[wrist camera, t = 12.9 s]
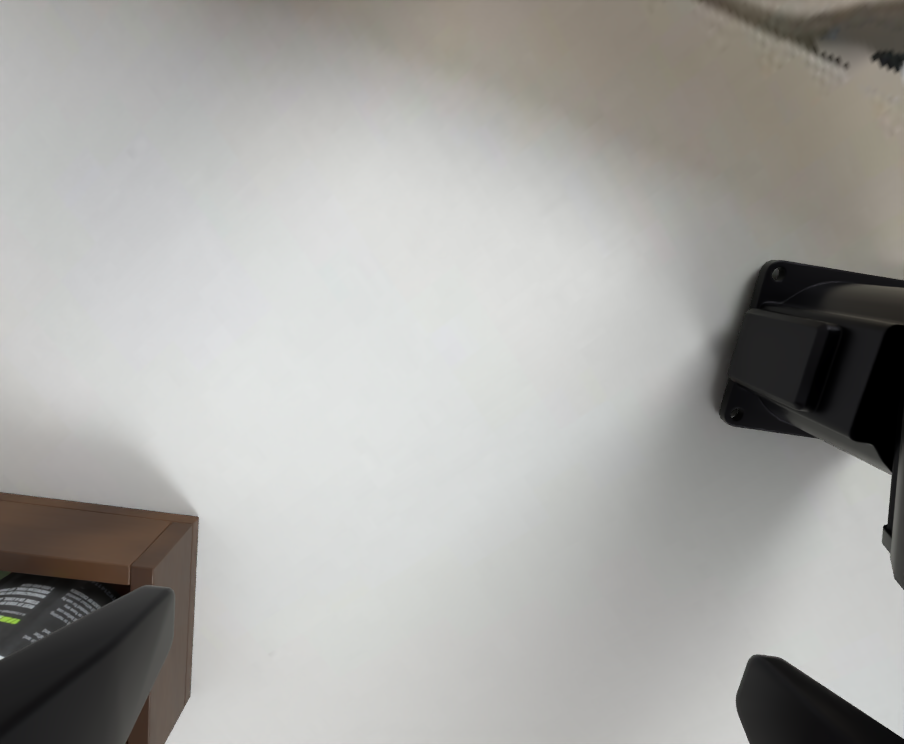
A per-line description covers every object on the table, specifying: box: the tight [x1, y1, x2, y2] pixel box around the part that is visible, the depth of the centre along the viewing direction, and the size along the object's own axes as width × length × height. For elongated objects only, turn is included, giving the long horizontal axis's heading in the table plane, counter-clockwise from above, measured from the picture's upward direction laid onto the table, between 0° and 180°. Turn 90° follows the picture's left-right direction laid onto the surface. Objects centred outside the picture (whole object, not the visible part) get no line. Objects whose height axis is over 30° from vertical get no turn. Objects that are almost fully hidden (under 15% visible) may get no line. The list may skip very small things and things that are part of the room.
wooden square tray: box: [0, 492, 199, 744], centre depth 21 cm, size 9×9×4 cm
